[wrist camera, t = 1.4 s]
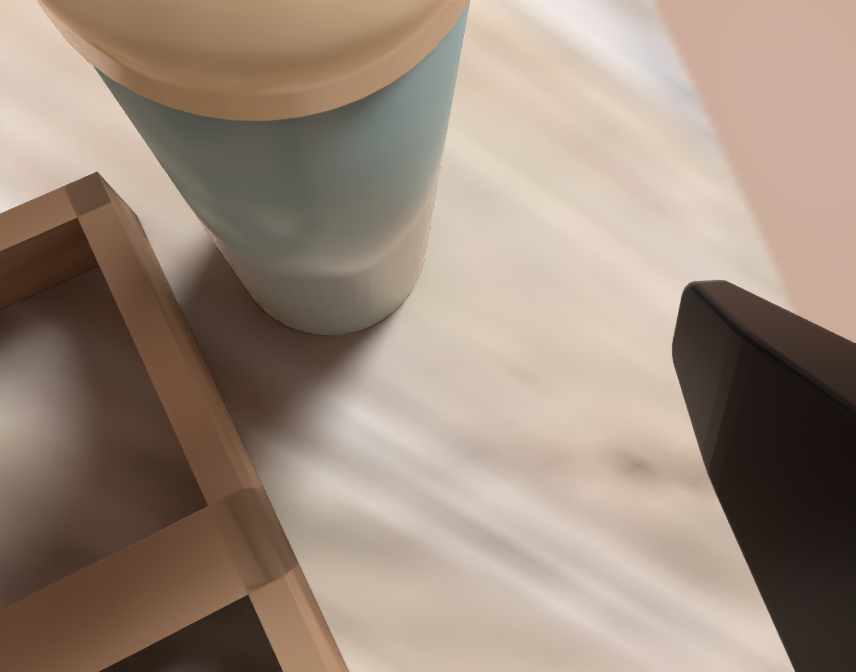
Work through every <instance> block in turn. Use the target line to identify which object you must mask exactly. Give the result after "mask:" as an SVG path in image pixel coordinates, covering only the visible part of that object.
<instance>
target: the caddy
mask: <svg viewBox="0 0 856 672" xmlns="http://www.w3.org/2000/svg"><path fill="white" fill-rule="evenodd" d="M98 265H99V266H100V268H101V271H102V273H103V275H104V277H105V279H106V282H107V284H108V286H109V288H110V290H111V293H112V295H113V297H114V299H115V301H116V304H117V306H118V308H119V310H120V313H121V315H122V317H123V319H124V321H125V324H126V326H127V328H128V330H129V332H130V335H131V337H132V339H133V341H134V343H135V346H136V348H137V350H138V352H139V354H140V357H141V359H142V361H143V363H144V366H145V368H146V370H147V372H148V374H149V377H150V379H151V381H152V383H153V385H154V388H155V390H156V392H157V394H158V396H159V399H160V401H161V403H162V405H163V407H164V410H165V412H166V414H167V416H168V419H169V421H170V423H171V425H172V427H173V430H174V432H175V434H176V436H177V438H178V441H179V443H180V445H181V447H182V449H183V452H184V454H185V456H186V458H187V460H188V463H189V465H190V467H191V469H192V472H193V474H194V476H195V478H196V480H197V483H198V485H199V487H200V489H201V491H202V494H203V496H204V498H205V500H206V502H207V505H208V506H207V507H205V508H203V509H201V510H199V511H197V512H195V513H193V514H191V515H189V516H187V517H185V518H183V519H181V520H179V521H177V522H175V523H173V524H171V525H169V526H167V527H165V528H163V529H161V530H159V531H157V532H154V533H152V534H150V535H148V536H146V537H144V538H142V539H140V540H138V541H136V542H134V543H132V544H130V545H128V546H126V547H124V548H122V549H120V550H118V551H116V552H114V553H112V554H110V555H108V556H106V557H104V558H102V559H100V560H98V561H96V562H94V563H92V564H90V565H88V566H86V567H84V568H82V569H80V570H78V571H76V572H74V573H72V574H70V575H68V576H66V577H64V578H62V579H60V580H58V581H56V582H54V583H52V584H50V585H48V586H46V587H44V588H42V589H40V590H38V591H36V592H34V593H32V594H30V595H28V596H26V597H24V598H22V599H20V600H18V601H16V602H14V603H12V604H10V605H8V606H6V607H4V608H2V609H0V672H99V671H101V670H103V669H105V668H107V667H109V666H111V665H113V664H115V663H117V662H119V661H121V660H122V659H124V658H126V657H128V656H130V655H132V654H134V653H136V652H138V651H140V650H142V649H144V648H146V647H148V646H150V645H151V644H153V643H155V642H157V641H159V640H161V639H163V638H165V637H167V636H169V635H171V634H173V633H175V632H177V631H179V630H180V629H182V628H184V627H186V626H188V625H190V624H192V623H194V622H196V621H198V620H200V619H202V618H204V617H206V616H208V615H209V614H211V613H213V612H215V611H217V610H219V609H221V608H223V607H225V606H227V605H229V604H231V603H233V602H235V601H237V600H238V599H240V598H242V597H244V596H246V595H249V597H250V600H251V602H252V604H253V606H254V608H255V611H256V613H257V615H258V617H259V619H260V622H261V624H262V626H263V628H264V631H265V633H266V635H267V637H268V639H269V642H270V644H271V646H272V648H273V650H274V653H275V655H276V657H277V659H278V661H279V664H280V666H281V668H282V670H283V672H349V670H348V668H347V666H346V664H345V662H344V660H343V658H342V655H341V653H340V651H339V649H338V647H337V645H336V643H335V640H334V638H333V636H332V634H331V632H330V630H329V627H328V625H327V623H326V621H325V619H324V617H323V615H322V612H321V610H320V608H319V606H318V604H317V602H316V600H315V597H314V595H313V593H312V591H311V589H310V587H309V584H308V582H307V580H306V578H305V576H304V574H303V572H302V569H301V567H300V565H299V563H298V561H297V559H296V556H295V554H294V552H293V550H292V548H291V546H290V544H289V541H288V539H287V537H286V535H285V533H284V531H283V529H282V526H281V524H280V522H279V520H278V518H277V516H276V513H275V511H274V509H273V507H272V505H271V503H270V501H269V498H268V496H267V494H266V492H265V490H264V488H263V486H262V483H261V481H260V479H259V477H258V475H257V473H256V470H255V468H254V466H253V464H252V462H251V460H250V458H249V455H248V453H247V451H246V449H245V447H244V445H243V443H242V440H241V438H240V436H239V434H238V432H237V430H236V427H235V425H234V423H233V421H232V419H231V417H230V415H229V412H228V410H227V408H226V406H225V404H224V402H223V400H222V397H221V395H220V393H219V391H218V389H217V387H216V384H215V382H214V380H213V378H212V376H211V374H210V372H209V369H208V367H207V365H206V363H205V361H204V359H203V356H202V354H201V352H200V350H199V348H198V346H197V344H196V341H195V339H194V337H193V335H192V333H191V331H190V329H189V326H188V324H187V322H186V320H185V318H184V316H183V313H182V311H181V309H180V307H179V305H178V303H177V301H176V298H175V296H174V294H173V292H172V290H171V288H170V286H169V283H168V281H167V279H166V277H165V275H164V273H163V270H162V268H161V266H160V264H159V262H158V260H157V258H156V255H155V253H154V251H153V249H152V247H151V245H150V243H149V240H148V238H147V236H146V234H145V232H144V230H143V227H142V225H141V223H140V221H139V219H138V217H137V215H136V214H135V213H134V212H133V211H132V210H131V208H130V207H129V206H128V205H127V204H126V203H125V202H124V201H123V200H122V198H121V197H120V196H119V195H118V194H117V193H116V192H115V191H114V190H113V189H112V187H111V186H110V185H109V184H108V183H107V182H106V181H105V180H104V179H103V177H102V176H101V175H100V174H99V173H98V172H95V173H93V174H91V175H88V176H86V177H84V178H81V179H79V180H77V181H75V182H72V183H70V184H68V185H65V186H63V187H61V188H58V189H56V190H54V191H51V192H49V193H47V194H45V195H42V196H40V197H38V198H35V199H33V200H31V201H28V202H26V203H24V204H21V205H19V206H17V207H15V208H12V209H10V210H8V211H5V212H3V213H1V214H0V309H2V308H4V307H7V306H9V305H11V304H13V303H16V302H18V301H20V300H22V299H24V298H27V297H29V296H31V295H33V294H36V293H38V292H40V291H42V290H45V289H47V288H49V287H51V286H53V285H56V284H58V283H60V282H62V281H65V280H67V279H69V278H71V277H73V276H76V275H78V274H80V273H82V272H85V271H87V270H89V269H91V268H94V267H96V266H98Z"/></svg>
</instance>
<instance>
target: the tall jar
mask: <svg viewBox="0 0 856 672" xmlns="http://www.w3.org/2000/svg"><path fill="white" fill-rule="evenodd" d="M37 2H38V3H39V5H40V6H41V7H42V9H43V10H44V12H45V13H46V14H47V16H48V17H49V19H50V20H51V21H52V22H53V24H54V25H55V26H56V28H57V29H58V30H59V32H60V33H61V34H62V35H63V37H64V38H65V39H66V41H67V42H68V43H70V44H71V45H72V46H73V47H74V48H75V49H76V50H77V51H78V52H79V53H80V54H81V55H82V56H83V57H84V58H85V59H86V60H87V61H88V62H89V63H91V64H92V65H93V66H94V68H95V69H96V71H97V72H98V73H99V75H100V76H101V78H102V79H103V81H104V82H105V84H106V85H107V87H108V88H109V90H110V91H111V92H112V94H113V95H114V97H115V98H116V100H117V101H118V103H119V104H120V106H121V107H122V109H123V110H124V111H125V113H126V114H127V116H128V117H129V119H130V120H131V122H132V123H133V125H134V126H135V127H136V129H137V130H138V132H139V133H140V135H141V136H142V138H143V139H144V141H145V142H146V144H147V145H148V146H149V148H150V149H151V151H152V152H153V154H154V155H155V157H156V158H157V160H158V161H159V163H160V164H161V165H162V167H163V168H164V170H165V171H166V173H167V174H168V176H169V177H170V179H171V180H172V182H173V183H174V184H175V186H176V187H177V189H178V190H179V192H180V193H181V195H182V196H183V198H184V199H185V201H186V202H187V203H188V205H189V206H190V208H191V209H192V211H193V212H194V214H195V215H196V217H197V218H198V220H199V221H200V222H201V224H202V225H203V227H204V228H205V230H206V231H207V233H208V234H209V236H210V237H211V239H212V240H213V241H214V243H215V244H216V246H217V247H218V249H219V250H220V252H221V253H222V255H223V256H224V257H225V259H226V260H227V262H228V263H229V265H230V266H231V268H232V269H233V271H234V272H235V274H236V275H237V276H238V278H239V279H240V281H241V282H242V284H243V285H244V287H245V288H246V290H247V291H248V293H249V294H250V295H251V297H252V298H253V299H254V300H255V302H256V303H257V304H258V305H259V306H260V307H261V308H262V309H263V310H264V311H265V312H266V313H268V314H269V315H270V316H272V317H273V318H274V319H276V320H278V321H279V322H281V323H283V324H285V325H286V326H289V327H291V328H294V329H296V330H299V331H303V332H307V333H311V334H319V335H340V334H348V333H352V332H356V331H360V330H362V329H365V328H367V327H370V326H372V325H374V324H376V323H378V322H380V321H381V320H383V319H385V318H386V317H387V316H389V315H390V314H391V313H393V312H394V311H395V310H396V309H397V308H398V307H399V306H400V305H401V304H402V303H403V302H404V301H405V299H406V298H407V297H408V295H409V294H410V293H411V291H412V289H413V288H414V286H415V284H416V283H417V280H418V278H419V275H420V273H421V270H422V267H423V263H424V259H425V253H426V247H427V242H428V236H429V230H430V225H431V219H432V213H433V208H434V202H435V196H436V190H437V185H438V179H439V173H440V168H441V162H442V156H443V151H444V145H445V139H446V134H447V128H448V122H449V117H450V111H451V105H452V100H453V94H454V88H455V83H456V77H457V71H458V65H459V60H460V54H461V48H462V43H463V37H464V31H465V26H466V20H467V14H468V9H469V3H470V0H37Z"/></svg>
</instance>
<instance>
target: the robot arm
mask: <svg viewBox="0 0 856 672" xmlns="http://www.w3.org/2000/svg"><path fill="white" fill-rule="evenodd" d="M672 358H673V363H674V367H675V370H676V373H677V377H678V380H679V383H680V387H681V390H682V393H683V396H684V400H685V403H686V406H687V410H688V413H689V416H690V419H691V423H692V426H693V429H694V433H695V436H696V439H697V442H698V446H699V449H700V452H701V456H702V459H703V462H704V465H705V467H706V470H707V473H708V476H709V478H710V481H711V483H712V486H713V488H714V490H715V493H716V495H717V497H718V500H719V502H720V504H721V506H722V509H723V511H724V513H725V515H726V518H727V520H728V522H729V524H730V527H731V529H732V531H733V533H734V536H735V538H736V540H737V542H738V545H739V547H740V549H741V551H742V554H743V556H744V558H745V560H746V562H747V565H748V567H749V569H750V571H751V574H752V576H753V578H754V580H755V583H756V585H757V587H758V589H759V592H760V594H761V596H762V598H763V601H764V603H765V605H766V607H767V610H768V612H769V614H770V616H771V619H772V621H773V623H774V625H775V628H776V630H777V632H778V634H779V637H780V639H781V641H782V643H783V646H784V648H785V650H786V652H787V655H788V657H789V659H790V661H791V664H792V666H793V668H794V670H795V672H856V343H854V342H851V341H850V340H847V339H845V338H843V337H841V336H839V335H837V334H835V333H833V332H830V331H829V330H827V329H825V328H823V327H821V326H819V325H817V324H814V323H812V322H810V321H808V320H806V319H804V318H802V317H800V316H798V315H796V314H794V313H792V312H790V311H788V310H786V309H783V308H781V307H779V306H777V305H775V304H773V303H771V302H769V301H767V300H765V299H763V298H761V297H759V296H757V295H755V294H752V293H750V292H748V291H746V290H744V289H742V288H740V287H738V286H736V285H734V284H732V283H730V282H728V281H725V280H710V281H694V282H690V283H689V284H688V285H687V286H686V287H685V289H684V291H683V293H682V297H681V302H680V307H679V312H678V317H677V322H676V327H675V332H674V337H673V342H672Z"/></svg>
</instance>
